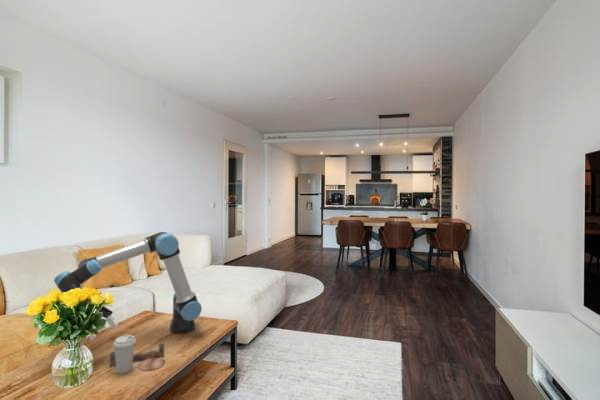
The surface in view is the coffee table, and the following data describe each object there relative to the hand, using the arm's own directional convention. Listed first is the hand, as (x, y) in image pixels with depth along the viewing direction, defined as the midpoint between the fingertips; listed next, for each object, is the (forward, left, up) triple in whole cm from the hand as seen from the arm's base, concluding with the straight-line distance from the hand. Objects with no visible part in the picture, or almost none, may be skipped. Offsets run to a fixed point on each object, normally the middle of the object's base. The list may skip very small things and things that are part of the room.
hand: (105, 332), depth 156 cm
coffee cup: (-8, +7, -17) cm, 20 cm away
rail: (-14, +6, -17) cm, 23 cm away
